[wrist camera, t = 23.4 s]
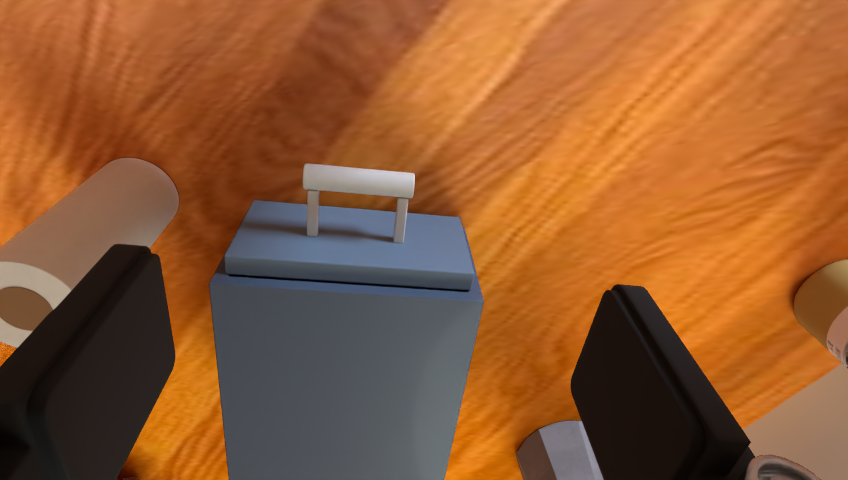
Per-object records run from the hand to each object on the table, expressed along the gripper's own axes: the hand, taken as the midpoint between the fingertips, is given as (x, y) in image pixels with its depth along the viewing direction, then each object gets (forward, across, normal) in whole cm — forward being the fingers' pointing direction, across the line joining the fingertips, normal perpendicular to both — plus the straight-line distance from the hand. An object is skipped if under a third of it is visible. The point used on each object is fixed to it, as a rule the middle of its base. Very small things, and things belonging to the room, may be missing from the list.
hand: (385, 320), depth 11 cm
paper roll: (+22, +16, +10) cm, 29 cm away
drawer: (+21, +1, +14) cm, 26 cm away
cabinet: (+22, +1, +18) cm, 29 cm away
